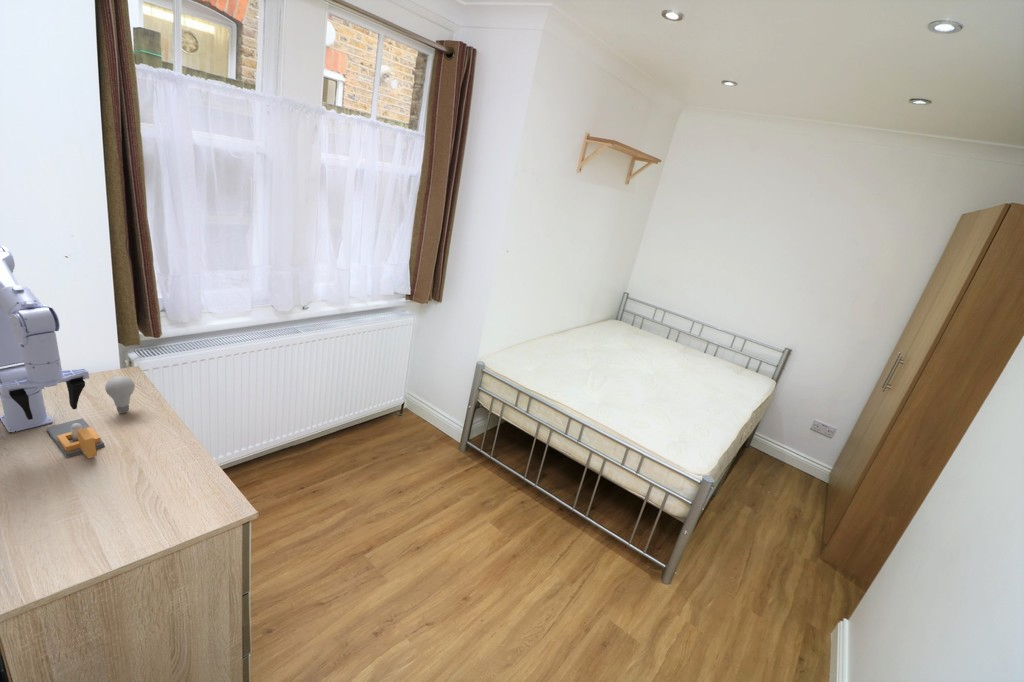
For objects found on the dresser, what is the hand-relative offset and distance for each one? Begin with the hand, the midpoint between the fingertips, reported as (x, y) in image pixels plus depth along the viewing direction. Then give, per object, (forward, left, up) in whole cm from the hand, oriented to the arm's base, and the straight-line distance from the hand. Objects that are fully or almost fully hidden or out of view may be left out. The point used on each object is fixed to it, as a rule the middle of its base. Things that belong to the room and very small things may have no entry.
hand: (52, 412), depth 110 cm
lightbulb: (-8, +15, -10) cm, 20 cm away
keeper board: (-1, +4, -9) cm, 10 cm away
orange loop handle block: (+5, +4, -8) cm, 10 cm away
